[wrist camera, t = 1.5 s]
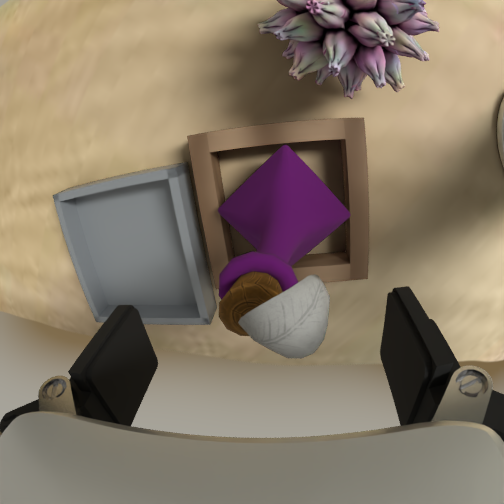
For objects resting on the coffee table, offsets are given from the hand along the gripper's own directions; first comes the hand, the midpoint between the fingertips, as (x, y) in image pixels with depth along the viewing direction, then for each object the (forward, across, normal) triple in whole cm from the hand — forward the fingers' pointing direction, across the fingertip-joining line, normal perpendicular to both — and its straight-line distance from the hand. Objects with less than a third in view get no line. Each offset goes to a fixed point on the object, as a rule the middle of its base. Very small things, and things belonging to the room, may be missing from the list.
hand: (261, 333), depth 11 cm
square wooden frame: (+17, -1, 0) cm, 17 cm away
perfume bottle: (+18, -1, 0) cm, 18 cm away
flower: (+17, -7, -14) cm, 23 cm away
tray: (+18, +14, +3) cm, 23 cm away
